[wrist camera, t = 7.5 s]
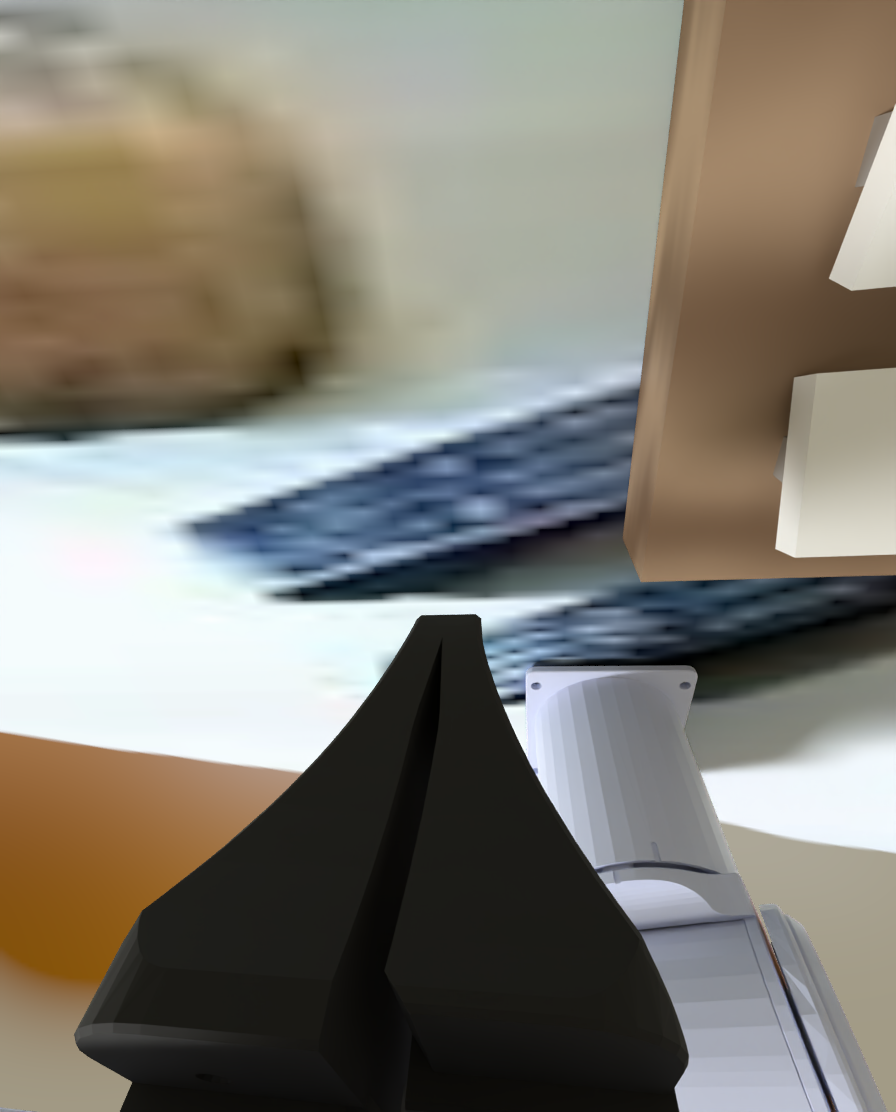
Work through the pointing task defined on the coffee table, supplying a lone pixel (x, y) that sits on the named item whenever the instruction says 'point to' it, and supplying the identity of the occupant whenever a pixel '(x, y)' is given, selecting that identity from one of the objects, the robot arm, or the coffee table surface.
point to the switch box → (755, 276)
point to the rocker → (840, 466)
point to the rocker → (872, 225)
